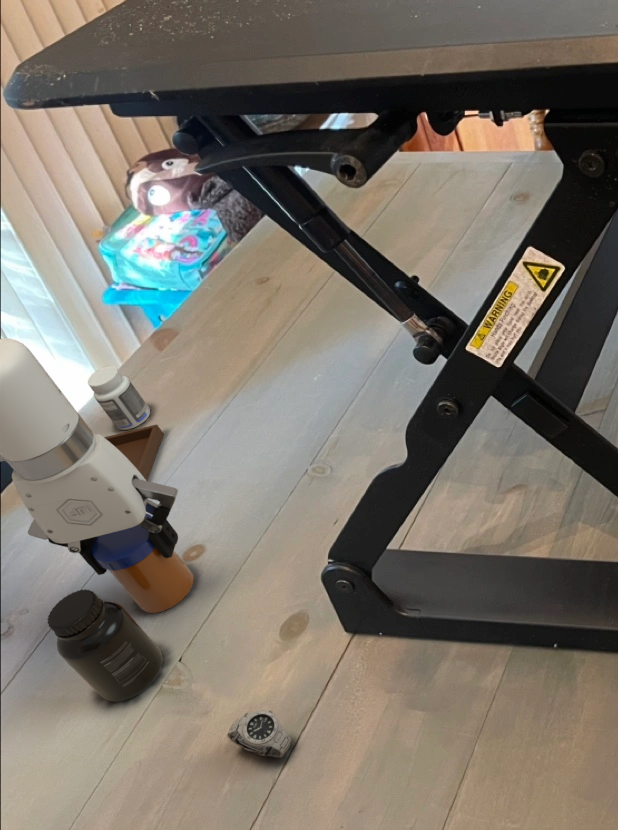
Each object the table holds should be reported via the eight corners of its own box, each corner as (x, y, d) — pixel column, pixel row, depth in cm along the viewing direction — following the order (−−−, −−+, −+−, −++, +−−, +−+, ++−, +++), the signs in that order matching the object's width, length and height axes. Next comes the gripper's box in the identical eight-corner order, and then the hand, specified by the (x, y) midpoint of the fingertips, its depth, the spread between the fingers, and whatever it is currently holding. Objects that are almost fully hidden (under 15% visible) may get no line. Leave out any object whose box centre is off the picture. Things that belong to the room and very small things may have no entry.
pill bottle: (146, 402, 152) (115, 358, 147) (155, 417, 149) (124, 373, 143) (112, 420, 150) (80, 377, 145) (121, 436, 147) (88, 392, 141)
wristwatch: (284, 768, 102) (261, 741, 99) (232, 757, 104) (208, 731, 101) (304, 734, 105) (282, 707, 101) (253, 724, 106) (230, 697, 103)
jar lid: (91, 577, 115) (83, 568, 114) (109, 530, 120) (101, 521, 119) (153, 562, 115) (145, 552, 114) (168, 515, 120) (161, 506, 119)
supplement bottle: (166, 637, 117) (109, 570, 110) (163, 687, 112) (104, 620, 105) (102, 663, 116) (41, 597, 109) (97, 714, 111) (31, 649, 103)
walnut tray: (56, 519, 136) (47, 509, 134) (84, 453, 145) (77, 443, 144) (141, 498, 136) (133, 488, 135) (163, 433, 145) (157, 424, 144)
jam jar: (133, 619, 120) (88, 567, 114) (147, 575, 125) (105, 524, 119) (187, 605, 120) (145, 553, 115) (198, 562, 125) (159, 510, 120)
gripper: (-49, 494, 105) (51, 602, 116) (125, 451, 105) (208, 563, 116) (-20, 441, 111) (73, 549, 122) (144, 401, 111) (222, 512, 122)
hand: (138, 555), depth 119 cm, fingers closed on jar lid, 6 cm apart
